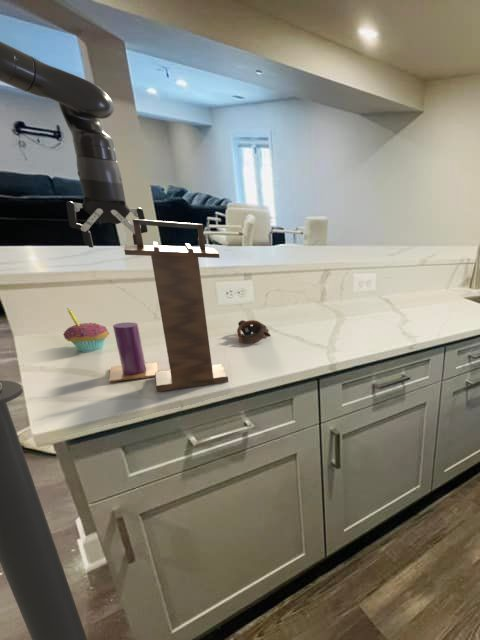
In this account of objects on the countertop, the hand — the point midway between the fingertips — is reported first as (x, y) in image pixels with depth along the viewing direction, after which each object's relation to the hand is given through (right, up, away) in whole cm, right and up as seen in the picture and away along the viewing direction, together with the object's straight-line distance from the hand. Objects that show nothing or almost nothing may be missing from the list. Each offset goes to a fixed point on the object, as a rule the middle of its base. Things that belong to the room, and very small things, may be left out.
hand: (114, 248), depth 98 cm
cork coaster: (+7, -32, -2) cm, 33 cm away
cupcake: (-13, -26, +7) cm, 30 cm away
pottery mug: (+20, -23, +26) cm, 40 cm away
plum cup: (+7, -25, -3) cm, 26 cm away
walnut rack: (+22, -34, -2) cm, 40 cm away
